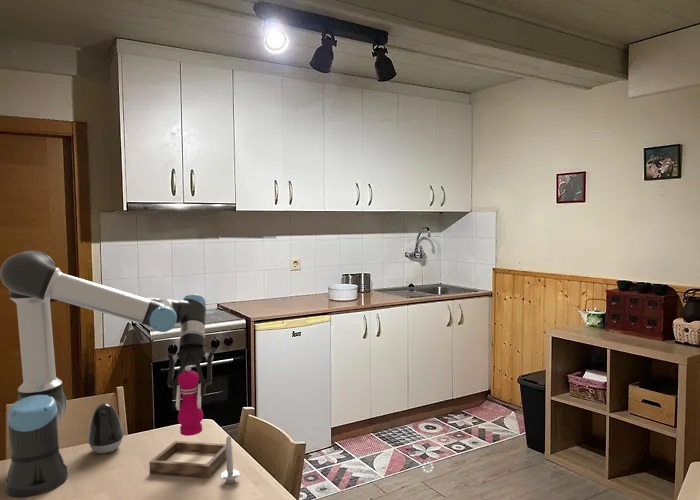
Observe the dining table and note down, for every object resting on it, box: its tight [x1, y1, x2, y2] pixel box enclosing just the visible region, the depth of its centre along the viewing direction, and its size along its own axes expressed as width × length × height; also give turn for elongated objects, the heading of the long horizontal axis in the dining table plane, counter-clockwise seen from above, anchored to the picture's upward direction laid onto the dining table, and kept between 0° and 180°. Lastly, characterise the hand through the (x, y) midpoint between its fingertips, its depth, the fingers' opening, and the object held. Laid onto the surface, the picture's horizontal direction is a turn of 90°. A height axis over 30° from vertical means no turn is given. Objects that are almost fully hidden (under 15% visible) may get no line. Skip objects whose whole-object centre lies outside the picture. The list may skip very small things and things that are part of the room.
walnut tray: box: [148, 440, 227, 479], centre depth 160 cm, size 18×14×4 cm
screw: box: [220, 436, 240, 485], centre depth 148 cm, size 13×5×5 cm
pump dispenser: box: [87, 402, 124, 455], centre depth 170 cm, size 10×10×15 cm
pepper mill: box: [177, 366, 204, 437], centre depth 159 cm, size 7×7×20 cm
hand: (188, 407), depth 155 cm, fingers closed on pepper mill, 5 cm apart
